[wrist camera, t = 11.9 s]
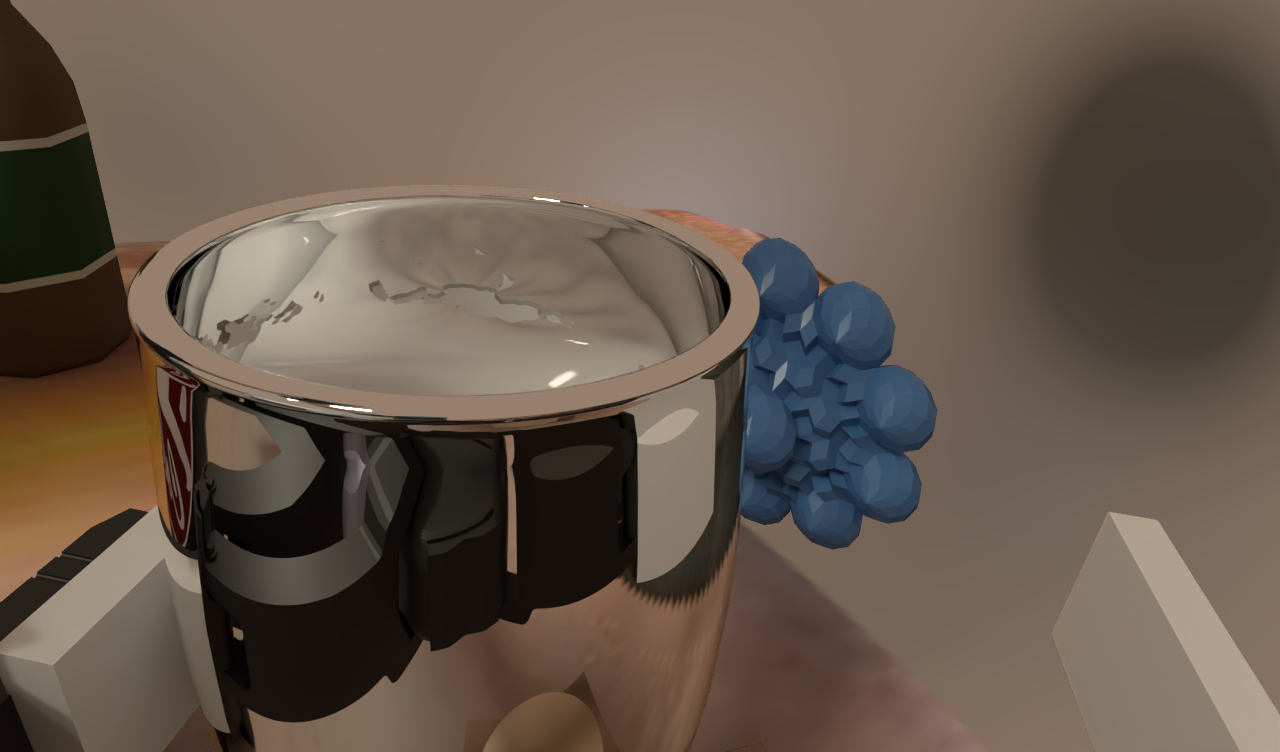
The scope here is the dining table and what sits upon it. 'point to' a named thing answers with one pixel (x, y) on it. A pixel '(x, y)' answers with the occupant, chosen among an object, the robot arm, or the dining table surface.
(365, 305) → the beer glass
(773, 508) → the grapes
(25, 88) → the beer bottle
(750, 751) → the board
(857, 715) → the dining table surface
